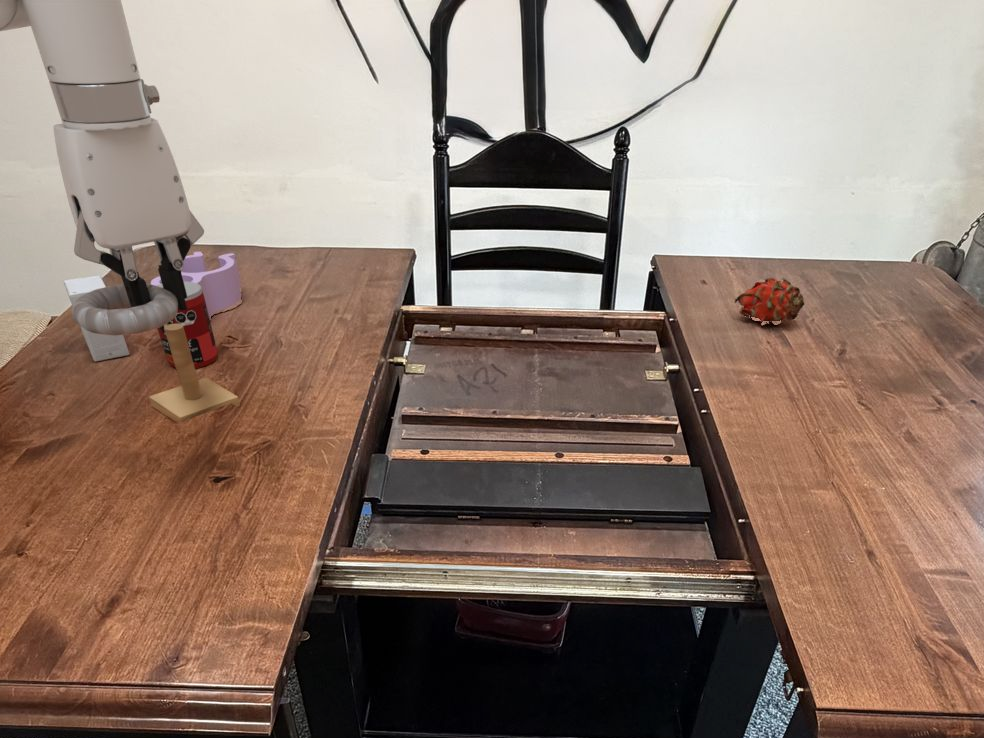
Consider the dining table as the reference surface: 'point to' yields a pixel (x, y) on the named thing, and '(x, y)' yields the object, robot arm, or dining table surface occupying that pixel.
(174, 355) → the stand
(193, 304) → the canned food
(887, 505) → the dining table surface
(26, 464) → the dining table surface
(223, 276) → the clip
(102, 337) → the small box
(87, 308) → the ring
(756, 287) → the dragon fruit
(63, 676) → the dining table surface
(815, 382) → the dining table surface
